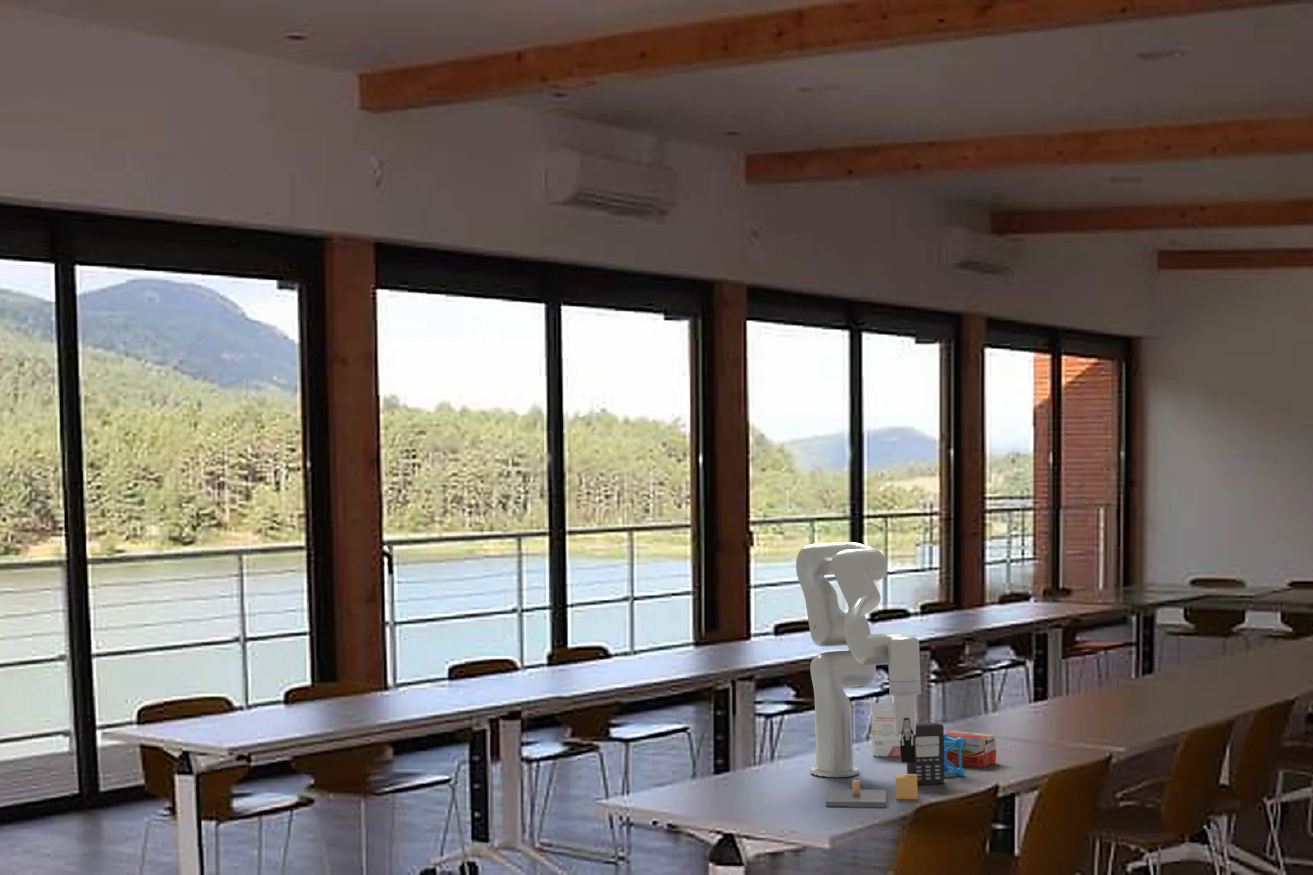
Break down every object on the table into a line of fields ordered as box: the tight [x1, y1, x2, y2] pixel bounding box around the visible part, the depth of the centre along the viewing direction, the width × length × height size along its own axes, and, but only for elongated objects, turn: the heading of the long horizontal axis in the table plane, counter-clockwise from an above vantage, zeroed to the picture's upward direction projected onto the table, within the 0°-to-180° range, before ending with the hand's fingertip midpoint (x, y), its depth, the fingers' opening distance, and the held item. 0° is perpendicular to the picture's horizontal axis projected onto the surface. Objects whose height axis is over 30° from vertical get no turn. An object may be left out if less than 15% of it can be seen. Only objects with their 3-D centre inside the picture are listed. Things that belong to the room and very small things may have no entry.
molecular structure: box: [944, 733, 966, 777], centre depth 396 cm, size 10×10×10 cm
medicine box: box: [944, 729, 997, 769], centre depth 411 cm, size 15×8×8 cm, turn 57°
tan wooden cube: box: [895, 773, 919, 800], centre depth 370 cm, size 5×5×5 cm
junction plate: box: [825, 779, 887, 808], centre depth 367 cm, size 14×14×5 cm
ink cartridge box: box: [870, 702, 901, 757], centre depth 425 cm, size 9×5×15 cm, turn 81°
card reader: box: [906, 722, 945, 786], centre depth 385 cm, size 9×4×15 cm, turn 99°
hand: (907, 759), depth 369 cm, fingers open, 9 cm apart
